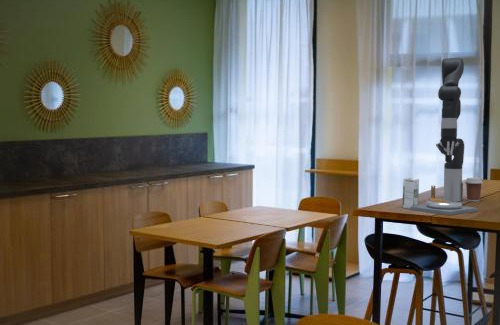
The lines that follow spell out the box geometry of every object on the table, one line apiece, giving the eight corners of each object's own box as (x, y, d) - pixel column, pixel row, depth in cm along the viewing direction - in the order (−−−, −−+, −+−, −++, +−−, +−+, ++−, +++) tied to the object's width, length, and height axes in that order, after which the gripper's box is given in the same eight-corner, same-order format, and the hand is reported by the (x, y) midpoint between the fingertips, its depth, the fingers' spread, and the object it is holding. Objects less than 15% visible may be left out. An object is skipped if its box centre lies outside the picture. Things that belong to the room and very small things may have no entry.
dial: (468, 208, 308) (468, 189, 307) (437, 209, 304) (437, 189, 303) (446, 203, 327) (446, 185, 327) (416, 203, 323) (416, 185, 323)
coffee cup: (483, 201, 348) (484, 179, 347) (465, 201, 350) (466, 178, 349) (481, 199, 357) (481, 177, 356) (463, 199, 359) (464, 177, 358)
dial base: (438, 206, 329) (438, 202, 329) (477, 211, 312) (477, 207, 312) (409, 209, 316) (409, 206, 316) (449, 215, 298) (449, 211, 298)
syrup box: (407, 206, 326) (408, 177, 325) (418, 208, 322) (419, 178, 321) (402, 208, 322) (402, 178, 321) (413, 209, 318) (414, 179, 317)
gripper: (457, 127, 328) (457, 162, 329) (432, 127, 325) (432, 162, 326) (465, 127, 320) (464, 163, 321) (440, 127, 318) (439, 163, 319)
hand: (448, 162), depth 324 cm, fingers closed
